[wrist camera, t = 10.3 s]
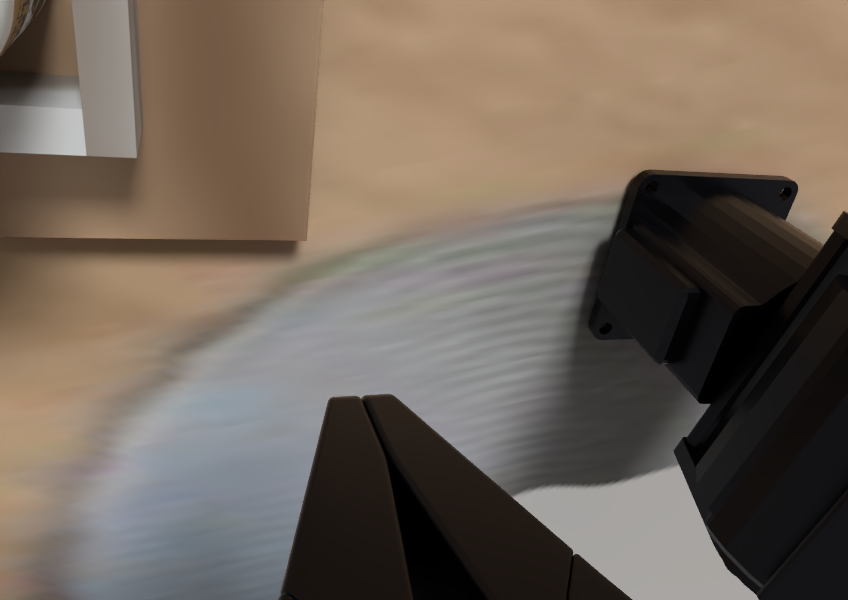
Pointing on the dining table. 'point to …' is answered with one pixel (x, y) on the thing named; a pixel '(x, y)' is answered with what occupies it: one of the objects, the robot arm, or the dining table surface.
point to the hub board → (160, 120)
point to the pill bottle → (16, 19)
